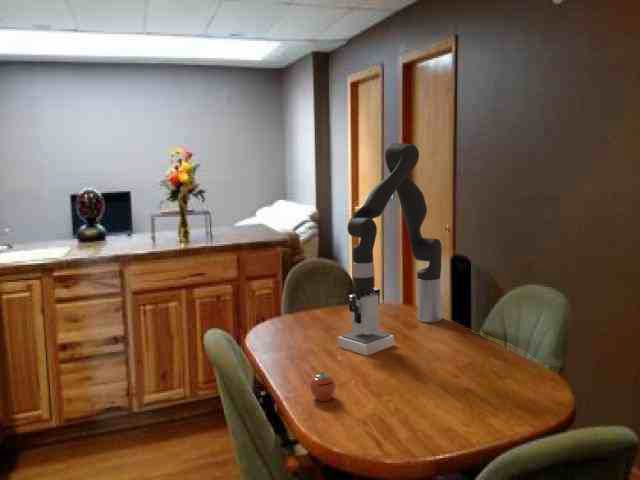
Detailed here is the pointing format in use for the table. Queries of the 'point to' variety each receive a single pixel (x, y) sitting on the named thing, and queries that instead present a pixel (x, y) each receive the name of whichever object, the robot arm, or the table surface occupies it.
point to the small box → (367, 315)
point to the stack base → (365, 342)
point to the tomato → (322, 387)
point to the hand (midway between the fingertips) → (365, 320)
